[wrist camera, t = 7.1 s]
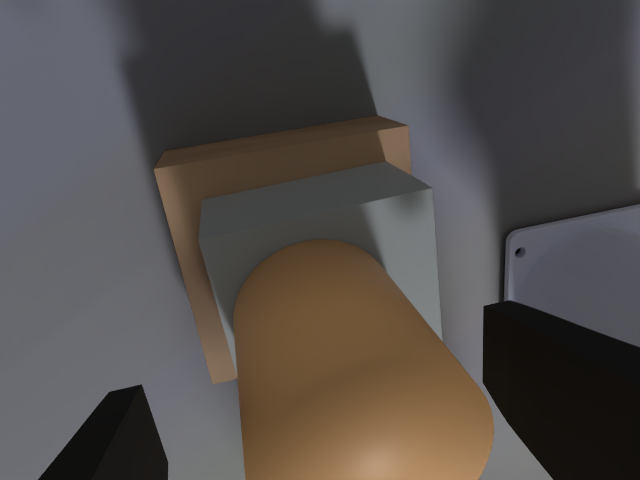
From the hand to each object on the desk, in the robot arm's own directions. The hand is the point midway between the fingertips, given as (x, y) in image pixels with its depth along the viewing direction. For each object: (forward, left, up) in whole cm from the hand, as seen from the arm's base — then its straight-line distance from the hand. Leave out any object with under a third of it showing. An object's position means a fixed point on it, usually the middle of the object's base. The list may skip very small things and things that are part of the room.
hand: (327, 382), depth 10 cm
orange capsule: (0, 0, -3) cm, 3 cm away
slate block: (0, -1, -6) cm, 7 cm away
